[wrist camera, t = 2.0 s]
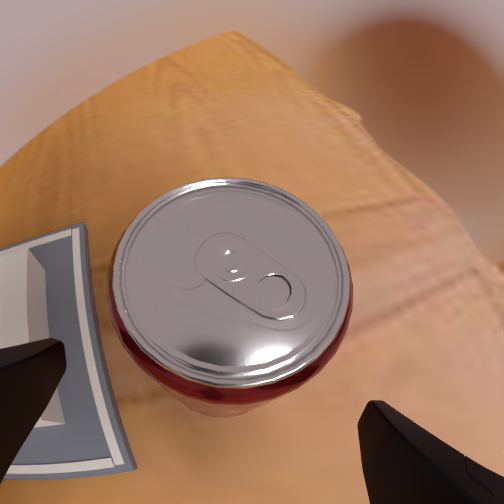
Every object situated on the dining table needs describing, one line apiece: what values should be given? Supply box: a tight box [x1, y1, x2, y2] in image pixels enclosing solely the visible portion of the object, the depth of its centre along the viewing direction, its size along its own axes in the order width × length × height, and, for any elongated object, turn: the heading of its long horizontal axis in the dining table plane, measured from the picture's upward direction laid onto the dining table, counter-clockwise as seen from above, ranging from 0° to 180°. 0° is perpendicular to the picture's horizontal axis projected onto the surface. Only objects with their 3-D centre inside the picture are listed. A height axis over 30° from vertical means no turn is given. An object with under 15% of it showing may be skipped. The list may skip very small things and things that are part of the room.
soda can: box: [107, 177, 353, 417], centre depth 13 cm, size 7×7×12 cm
